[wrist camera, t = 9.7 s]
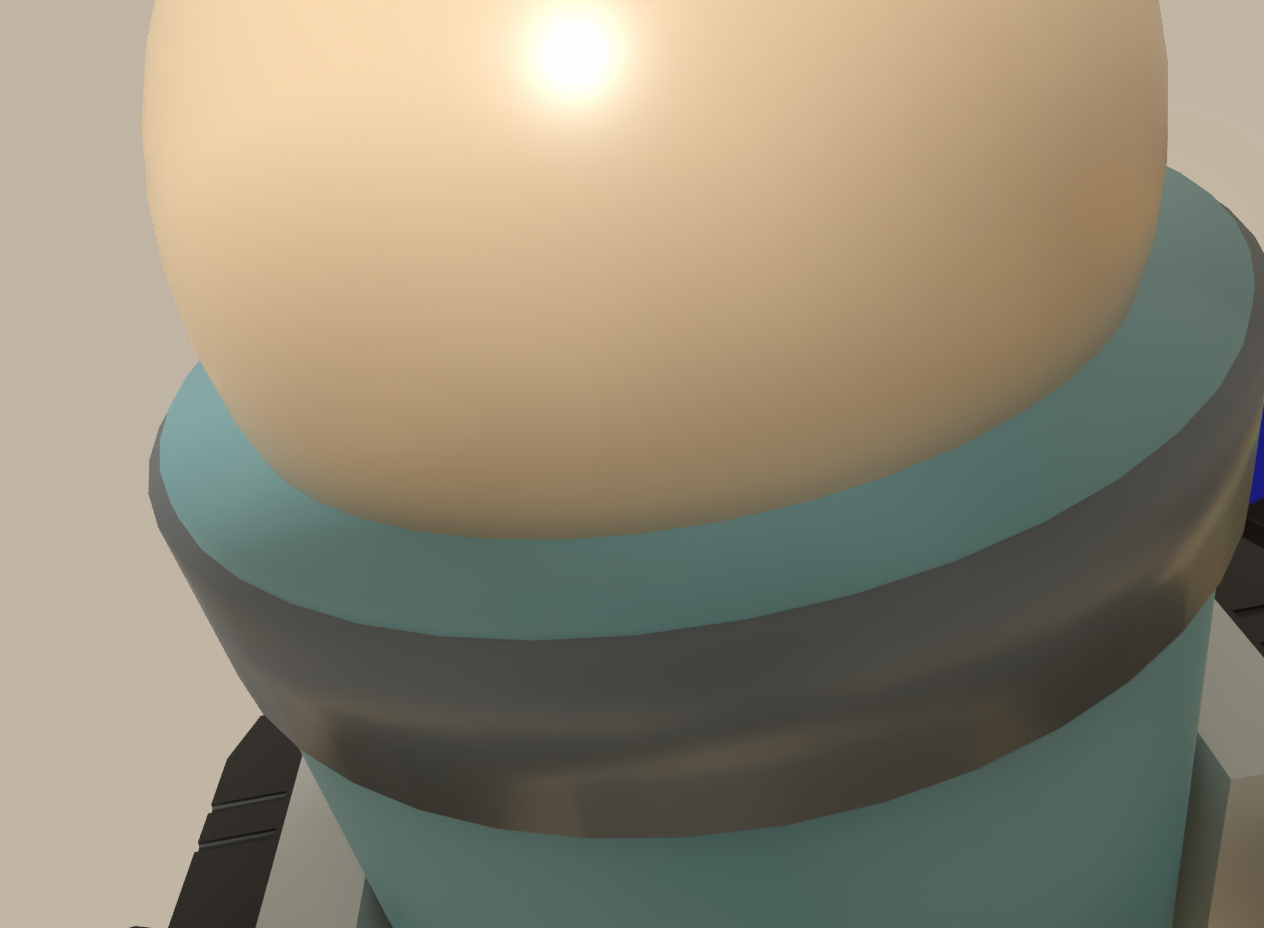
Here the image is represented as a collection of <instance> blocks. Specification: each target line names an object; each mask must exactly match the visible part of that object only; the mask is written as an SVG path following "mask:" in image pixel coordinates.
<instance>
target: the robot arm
mask: <svg viewBox="0 0 1264 928" xmlns="http://www.w3.org/2000/svg"><path fill="white" fill-rule="evenodd" d="M211 805H212V813H209V814H208V815H207V819H206V821H205V824H204V827H203V830H202V833H201V835H200V838H199V841H198V843H199V851H198V852H195V853H194V855H193V858H192V861H191V864H190V867H189V870H188V873H187V876H186V878H185V881H184V884H183V887H182V890H181V892H180V896H179V898H178V901H177V904H176V907H175V910H174V912H173V916H172V918H171V921H170V924H169V927H168V928H393V927H392V925H391V924H390V922H389V920H388V918H387V916H386V914H385V912H384V910H383V908H382V906H381V904H380V903H379V901H378V899H377V897H376V895H375V893H374V891H373V889H372V887H371V885H370V883H369V881H368V880H367V878H366V876H365V874H364V872H363V870H362V868H361V866H360V864H359V862H358V860H357V859H356V857H355V855H354V853H353V851H352V849H351V847H350V845H349V843H348V841H347V839H346V837H345V836H344V834H343V832H342V830H341V828H340V826H339V824H338V822H337V820H336V818H335V816H334V815H333V813H332V811H331V809H330V807H329V805H328V803H327V801H326V799H325V797H324V795H323V793H322V792H321V790H320V788H319V786H318V784H317V782H316V780H315V778H314V776H313V774H312V772H311V771H310V769H309V767H308V765H307V763H306V761H305V759H304V757H303V755H302V753H301V751H300V749H299V748H298V747H297V746H296V745H295V744H294V743H293V742H292V741H291V740H290V739H289V738H288V737H287V736H286V735H285V734H283V733H282V732H281V731H280V730H279V729H278V728H277V727H276V726H275V725H274V724H273V723H272V722H271V721H270V720H269V719H268V718H267V717H266V716H265V715H263V716H260V718H259V719H258V720H257V722H256V723H255V724H254V725H253V727H252V728H251V729H250V730H249V732H248V733H247V734H246V736H245V737H244V738H243V739H242V741H241V742H240V743H239V745H238V746H237V747H236V748H235V750H234V751H233V752H232V754H231V755H230V756H229V758H228V759H227V761H226V764H225V767H224V770H223V773H222V775H221V778H220V781H219V784H218V787H217V790H216V793H215V795H214V798H213V801H212V804H211ZM131 928H147V927H138V926H134V927H131ZM1172 928H1264V548H1262V547H1260V546H1258V545H1256V544H1254V543H1252V542H1250V541H1248V540H1247V539H1245V538H1243V537H1241V539H1240V541H1239V543H1238V545H1237V547H1236V550H1235V552H1234V554H1233V556H1232V558H1231V561H1230V563H1229V565H1228V567H1227V570H1226V572H1225V574H1224V576H1223V578H1222V581H1221V582H1220V583H1219V585H1218V586H1217V587H1216V591H1215V599H1214V607H1213V615H1212V623H1211V630H1210V638H1209V646H1208V654H1207V661H1206V669H1205V677H1204V685H1203V692H1202V700H1201V708H1200V716H1199V723H1198V731H1197V739H1196V747H1195V754H1194V762H1193V770H1192V778H1191V786H1190V793H1189V801H1188V809H1187V817H1186V824H1185V832H1184V840H1183V848H1182V855H1181V863H1180V871H1179V879H1178V886H1177V894H1176V902H1175V910H1174V918H1173V925H1172Z"/></svg>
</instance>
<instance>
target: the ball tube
mask: <svg viewBox="0 0 1264 928" xmlns="http://www.w3.org/2000/svg"><path fill="white" fill-rule="evenodd" d="M1167 113H1168V61H1167V54H1166V47H1165V40H1164V33H1163V26H1162V20H1161V13H1160V6H1159V0H155V2H154V7H153V12H152V18H151V22H150V28H149V32H148V38H147V44H146V55H145V73H144V93H143V112H142V136H143V137H142V138H143V149H144V161H145V172H146V184H147V195H148V205H149V209H150V213H151V218H152V222H153V227H154V231H155V235H156V240H157V244H158V249H159V253H160V257H161V262H162V266H163V270H164V275H165V277H166V280H167V283H168V285H169V288H170V290H171V293H172V295H173V298H174V301H175V304H176V306H177V309H178V311H179V314H180V317H181V319H182V322H183V325H184V327H185V330H186V332H187V335H188V338H189V340H190V342H191V344H192V346H193V348H194V350H195V352H196V354H197V355H198V357H199V359H200V361H199V362H198V363H197V364H196V366H195V367H194V368H193V369H192V371H191V372H190V373H189V375H188V376H187V377H186V378H185V380H184V382H183V384H182V386H181V387H180V389H179V391H178V393H177V395H176V396H175V398H174V400H173V402H172V404H171V406H170V407H169V410H168V413H167V414H166V416H165V418H164V420H163V421H162V423H161V425H160V427H159V430H158V434H157V437H156V440H155V443H154V447H153V450H152V453H151V457H150V460H149V497H150V500H151V504H152V507H153V510H154V514H155V517H156V521H157V524H158V528H159V529H160V531H161V533H162V535H163V537H164V539H165V541H166V542H167V544H168V546H169V548H170V550H171V552H172V554H173V555H174V557H175V559H176V561H177V563H178V565H179V567H180V568H181V570H182V572H183V574H184V576H185V578H186V579H187V581H188V583H189V585H190V587H191V589H192V591H193V593H194V594H195V596H196V598H197V600H198V602H199V604H200V605H201V607H202V609H203V611H204V613H205V615H206V617H207V619H208V620H209V622H210V624H211V626H212V628H213V630H214V632H215V633H216V635H217V637H218V639H219V641H220V643H221V644H222V646H223V648H224V650H225V652H226V654H227V656H228V658H229V659H230V661H231V663H232V665H233V667H234V668H235V671H236V672H237V674H238V676H239V678H240V679H241V681H242V682H243V684H244V685H245V687H246V688H247V690H248V691H249V693H250V694H251V696H252V698H253V699H254V700H255V702H256V704H257V705H258V707H259V708H260V710H261V711H262V713H263V714H264V715H265V716H266V717H267V718H268V719H269V720H270V721H271V722H272V723H273V724H274V725H275V726H276V727H277V728H278V729H279V730H280V731H281V732H282V733H283V734H285V735H286V736H287V737H288V738H289V739H290V740H291V741H292V742H293V743H294V744H295V745H296V746H297V747H298V748H299V749H300V751H301V753H302V755H303V757H304V759H305V761H306V763H307V765H308V767H309V769H310V771H311V772H312V774H313V776H314V778H315V780H316V782H317V784H318V786H319V788H320V790H321V792H322V793H323V795H324V797H325V799H326V801H327V803H328V805H329V807H330V809H331V811H332V813H333V815H334V816H335V818H336V820H337V822H338V824H339V826H340V828H341V830H342V832H343V834H344V836H345V837H346V839H347V841H348V843H349V845H350V847H351V849H352V851H353V853H354V855H355V857H356V859H357V860H358V862H359V864H360V866H361V868H362V870H363V872H364V874H365V876H366V878H367V880H368V881H369V883H370V885H371V887H372V889H373V891H374V893H375V895H376V897H377V899H378V901H379V903H380V904H381V906H382V908H383V910H384V912H385V914H386V916H387V918H388V920H389V922H390V924H391V925H392V927H393V928H1172V925H1173V918H1174V910H1175V902H1176V894H1177V886H1178V879H1179V871H1180V863H1181V855H1182V848H1183V840H1184V832H1185V824H1186V817H1187V809H1188V801H1189V793H1190V786H1191V778H1192V770H1193V762H1194V754H1195V747H1196V739H1197V731H1198V723H1199V716H1200V708H1201V700H1202V692H1203V685H1204V677H1205V669H1206V661H1207V654H1208V646H1209V638H1210V630H1211V623H1212V615H1213V607H1214V599H1215V591H1216V587H1217V586H1218V585H1219V583H1220V582H1221V581H1222V578H1223V576H1224V574H1225V572H1226V570H1227V567H1228V565H1229V563H1230V561H1231V558H1232V556H1233V554H1234V552H1235V550H1236V547H1237V545H1238V543H1239V541H1240V539H1241V536H1242V534H1243V532H1244V527H1245V522H1246V516H1247V510H1248V505H1249V499H1250V493H1251V488H1252V482H1253V475H1254V468H1255V461H1256V454H1257V447H1258V440H1259V433H1260V426H1261V419H1262V412H1263V405H1264V253H1263V251H1262V249H1261V247H1260V245H1259V244H1258V242H1257V240H1256V238H1255V237H1254V235H1253V234H1252V233H1251V232H1250V231H1249V230H1248V229H1247V228H1246V227H1245V226H1244V225H1243V223H1242V222H1241V221H1240V220H1239V219H1238V218H1237V217H1236V216H1235V215H1234V214H1233V213H1232V212H1231V211H1230V210H1229V209H1228V208H1227V207H1225V206H1224V205H1223V204H1221V203H1220V202H1218V201H1217V200H1216V199H1215V198H1214V197H1213V196H1212V195H1211V194H1210V193H1208V192H1207V191H1205V190H1204V189H1203V188H1201V187H1200V186H1198V185H1197V184H1195V183H1194V182H1193V181H1191V180H1190V179H1188V178H1187V177H1185V176H1184V175H1182V174H1181V173H1180V172H1177V171H1175V170H1173V169H1171V168H1169V167H1167V166H1166V164H1167V139H1168V134H1167V133H1168V125H1167V123H1168V121H1167V120H1168V114H1167Z"/></svg>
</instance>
